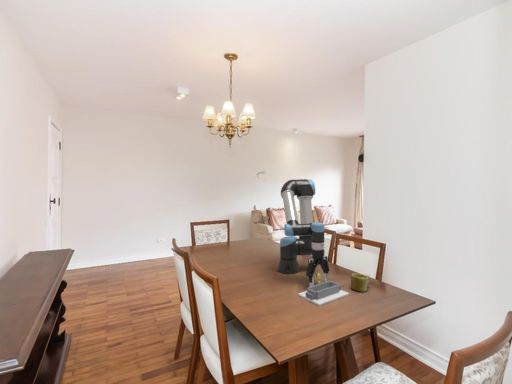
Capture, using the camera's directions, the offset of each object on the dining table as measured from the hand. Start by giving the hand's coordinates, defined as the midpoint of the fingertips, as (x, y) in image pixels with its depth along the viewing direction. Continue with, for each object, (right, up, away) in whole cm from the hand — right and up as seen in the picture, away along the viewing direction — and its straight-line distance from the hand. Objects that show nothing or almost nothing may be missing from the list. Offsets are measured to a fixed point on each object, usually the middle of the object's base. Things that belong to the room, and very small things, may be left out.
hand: (318, 285), depth 166 cm
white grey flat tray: (0, -1, -13) cm, 13 cm away
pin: (0, 0, 0) cm, 0 cm away
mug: (+24, 0, -5) cm, 25 cm away
